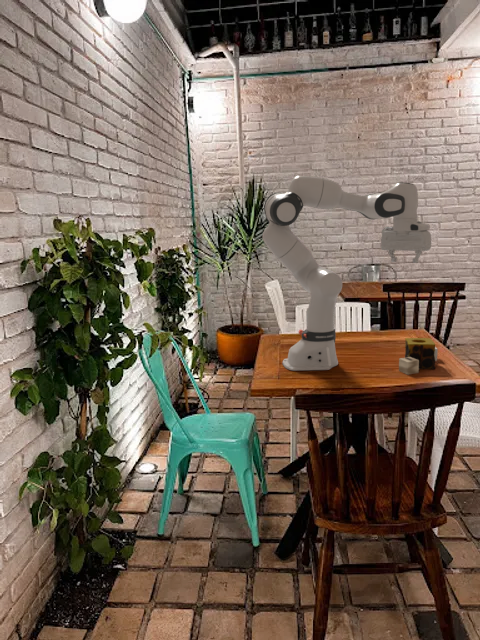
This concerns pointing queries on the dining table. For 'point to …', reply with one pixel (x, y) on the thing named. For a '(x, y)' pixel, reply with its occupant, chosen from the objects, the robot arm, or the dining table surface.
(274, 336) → the dining table surface
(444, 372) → the dining table surface
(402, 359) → the beech block marked
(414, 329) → the dining table surface
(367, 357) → the dining table surface
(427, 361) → the candle
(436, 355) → the cream block marked
